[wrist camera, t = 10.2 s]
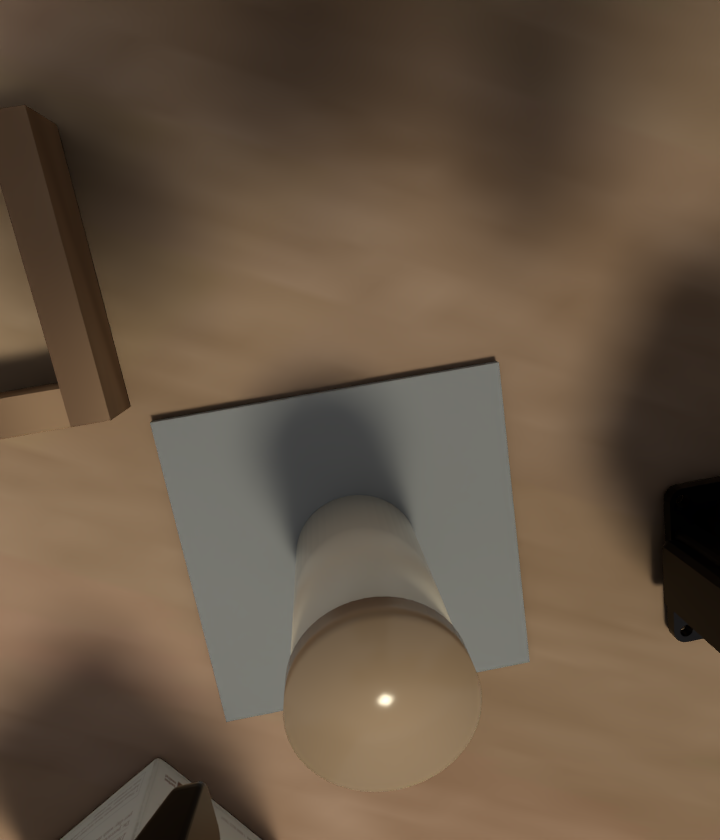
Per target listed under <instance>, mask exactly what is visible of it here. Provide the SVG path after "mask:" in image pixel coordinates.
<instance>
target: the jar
mask: <svg viewBox="0 0 720 840" xmlns="http://www.w3.org/2000/svg"><path fill="white" fill-rule="evenodd" d="M481 706H482V692H481V686H480V681H479V678H478V675H477V672H476V670H475V667H474V665H473V662H472V660H471V658H470V655H469V653H468V651H467V648H466V646H465V644H464V641H463V640H462V638H461V636H460V634H459V633H458V631H457V630H456V629H455V628H454V626H453V625H452V623H451V620H450V618H449V615H448V613H447V610H446V608H445V606H444V603H443V601H442V598H441V596H440V593H439V591H438V589H437V586H436V584H435V581H434V579H433V576H432V574H431V571H430V569H429V567H428V564H427V562H426V559H425V557H424V554H423V552H422V550H421V547H420V545H419V542H418V540H417V537H416V535H415V532H414V530H413V528H412V526H411V524H410V522H409V520H408V519H407V518H406V516H405V515H404V514H403V513H402V512H401V511H400V510H399V509H398V508H396V507H395V506H394V505H392V504H391V503H389V502H387V501H385V500H382V499H380V498H377V497H373V496H367V495H351V496H345V497H341V498H338V499H335V500H333V501H330V502H329V503H327V504H325V505H323V506H322V507H321V508H319V509H318V510H317V511H316V512H315V513H313V514H312V515H311V517H310V518H309V519H308V520H307V522H306V523H305V525H304V526H303V528H302V530H301V533H300V535H299V539H298V543H297V550H296V568H295V586H294V604H293V622H292V640H291V656H290V658H289V662H288V665H287V669H286V676H285V689H284V704H283V720H284V726H285V731H286V734H287V737H288V740H289V742H290V744H291V746H292V748H293V750H294V752H295V753H296V755H297V756H298V757H299V759H300V760H301V761H302V762H303V763H304V764H305V765H306V766H307V767H308V768H309V769H310V770H311V771H313V772H314V773H315V774H316V775H318V776H320V777H321V778H323V779H324V780H326V781H328V782H331V783H333V784H335V785H337V786H341V787H344V788H347V789H351V790H357V791H364V792H386V791H393V790H399V789H403V788H407V787H411V786H413V785H416V784H418V783H421V782H423V781H425V780H427V779H429V778H431V777H433V776H435V775H436V774H438V773H439V772H441V771H442V770H444V769H445V768H446V767H447V766H449V765H450V764H451V763H452V762H453V761H454V760H455V759H456V758H457V757H458V756H459V755H460V754H461V753H462V752H463V750H464V749H465V748H466V746H467V745H468V743H469V742H470V740H471V738H472V736H473V735H474V732H475V730H476V727H477V725H478V722H479V718H480V714H481Z"/></svg>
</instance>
